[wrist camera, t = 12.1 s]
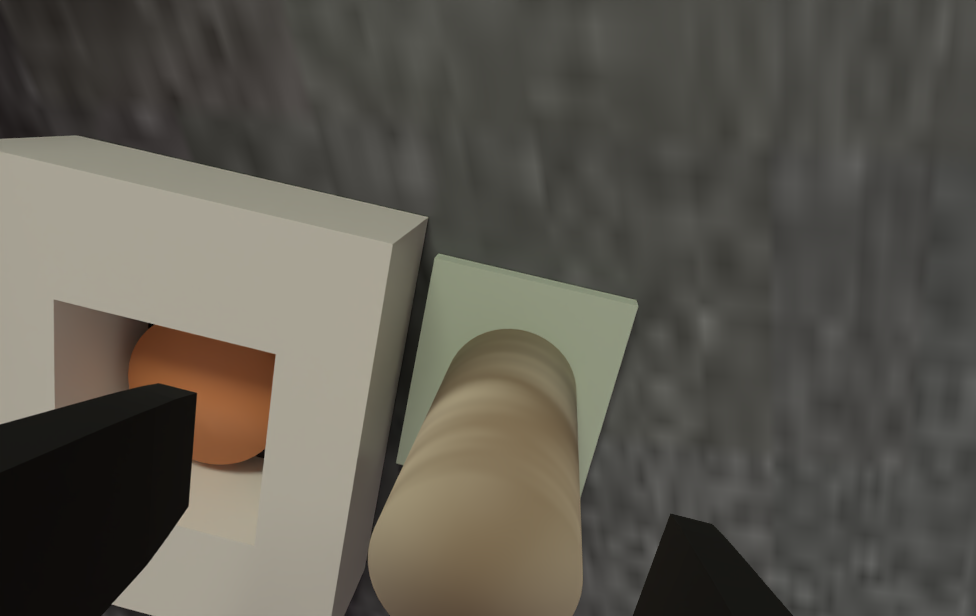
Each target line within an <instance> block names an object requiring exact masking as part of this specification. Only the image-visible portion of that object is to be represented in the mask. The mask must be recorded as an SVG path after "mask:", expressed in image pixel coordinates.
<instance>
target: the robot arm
mask: <svg viewBox="0 0 976 616" xmlns="http://www.w3.org/2000/svg"><path fill="white" fill-rule="evenodd" d="M196 402H197V393H196V392H192V391H188V390H184V389H180V388H176V387H172V386H168V385H164V384H160V383H157V384H151V385H145V386H141V387H136V388H132V389H128V390H124V391H120V392H116V393H112V394H108V395H104V396H101V397H97V398H93V399H90V400H86V401H83V402H79V403H75V404H72V405H68V406H65V407H61V408H57V409H54V410H50V411H47V412H43V413H39V414H36V415H32V416H29V417H25V418H21V419H18V420H14V421H11V422H7V423H3V424H0V616H101V615H102V614H103V613H104V612H105V611H106V610H107V609H108V608H109V607H110V606H111V604H112V603H113V602H114V601H115V600H116V599H117V598H118V597H119V596H120V595H121V593H122V592H123V591H124V590H125V589H126V588H127V587H128V586H129V585H130V584H131V582H132V581H133V580H134V579H135V578H136V577H137V576H138V575H139V574H140V572H141V571H142V570H143V569H144V568H145V567H146V566H147V564H148V563H149V562H150V560H151V559H152V558H153V556H154V555H155V554H156V552H157V551H158V550H159V548H160V547H161V545H162V544H163V543H164V541H165V540H166V539H167V537H168V536H169V534H170V533H171V531H172V530H173V529H174V527H175V526H176V524H177V523H178V521H179V520H180V518H181V517H182V515H183V514H184V513H185V511H186V510H187V508H188V507H189V495H190V482H191V469H192V456H193V442H194V429H195V416H196ZM633 616H793V615H792V614H791V613H790V612H789V611H788V609H787V608H786V607H785V606H784V605H783V604H782V602H781V601H780V600H779V599H778V598H777V597H776V596H775V594H774V593H773V592H772V591H771V590H770V589H769V587H768V586H767V585H766V584H765V583H764V582H763V580H762V579H761V578H760V577H759V576H758V575H757V573H756V572H755V571H754V570H753V569H752V568H751V566H750V565H749V564H748V563H747V562H746V561H745V559H744V558H743V557H742V556H741V555H740V554H739V553H738V551H737V550H736V549H735V548H734V547H733V546H732V545H731V543H730V542H729V541H728V540H727V539H726V538H725V537H724V536H723V535H722V534H721V533H720V532H719V531H718V530H717V528H716V527H715V526H714V525H712V524H709V523H705V522H702V521H698V520H694V519H690V518H686V517H682V516H678V515H674V514H670V516H669V519H668V522H667V525H666V527H665V530H664V533H663V535H662V538H661V541H660V544H659V546H658V549H657V552H656V554H655V557H654V560H653V563H652V565H651V568H650V571H649V573H648V576H647V579H646V582H645V584H644V587H643V590H642V592H641V595H640V598H639V601H638V603H637V606H636V609H635V611H634V614H633Z"/></svg>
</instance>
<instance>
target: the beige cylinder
mask: <svg viewBox="0 0 976 616" xmlns="http://www.w3.org/2000/svg"><path fill="white" fill-rule="evenodd" d="M368 567H369V575H370V578H371V582H372V585H373V588H374V590H375V592H376V595H377V597H378V599H379V600H380V602H381V604H382V605H383V607H384V608H385V610H386V611H387V612H388V613H389V615H390V616H572V615H573V613H574V611H575V609H576V608H577V606H578V602H579V599H580V596H581V592H582V585H583V566H582V538H581V509H580V480H579V452H578V423H577V394H576V382H575V377H574V374H573V371H572V369H571V367H570V364H569V363H568V361H567V359H566V358H565V356H564V355H563V354H562V353H561V352H560V351H559V349H557V348H556V347H555V346H554V345H553V344H552V343H550V342H549V341H547V340H546V339H544V338H542V337H540V336H539V335H536V334H534V333H531V332H528V331H524V330H518V329H498V330H493V331H489V332H485V333H483V334H481V335H478V336H476V337H475V338H473V339H471V340H470V341H469V342H467V343H466V344H465V345H464V346H463V347H462V348H461V349H460V350H459V351H458V352H457V354H456V355H455V356H454V358H453V360H452V362H451V364H450V366H449V368H448V370H447V372H446V374H445V377H444V379H443V381H442V383H441V385H440V387H439V389H438V392H437V394H436V396H435V398H434V400H433V402H432V405H431V407H430V409H429V411H428V413H427V415H426V418H425V420H424V422H423V424H422V426H421V428H420V431H419V433H418V435H417V437H416V439H415V441H414V443H413V446H412V448H411V450H410V452H409V454H408V456H407V459H406V461H405V463H404V465H403V467H402V469H401V472H400V474H399V476H398V478H397V480H396V482H395V485H394V487H393V489H392V491H391V493H390V495H389V497H388V500H387V502H386V504H385V506H384V508H383V510H382V513H381V515H380V517H379V519H378V521H377V523H376V526H375V528H374V530H373V533H372V536H371V539H370V543H369V549H368Z"/></svg>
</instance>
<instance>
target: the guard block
mask: <svg viewBox="0 0 976 616" xmlns="http://www.w3.org/2000/svg"><path fill="white" fill-rule="evenodd" d="M427 222H428V217H425V216H421V215H417V214H412V213H408V212H404V211H399V210H395V209H391V208H387V207H382V206H378V205H374V204H369V203H365V202H361V201H356V200H352V199H348V198H344V197H339V196H335V195H331V194H326V193H322V192H318V191H314V190H309V189H305V188H301V187H296V186H292V185H288V184H283V183H279V182H275V181H271V180H266V179H262V178H258V177H253V176H249V175H245V174H240V173H236V172H232V171H228V170H223V169H219V168H215V167H210V166H206V165H202V164H198V163H193V162H189V161H185V160H180V159H176V158H172V157H167V156H163V155H159V154H155V153H150V152H146V151H142V150H137V149H133V148H129V147H125V146H120V145H116V144H112V143H107V142H103V141H99V140H94V139H90V138H86V137H82V136H77V135H76V136H54V137H32V138H10V139H0V424H3V423H7V422H11V421H14V420H18V419H21V418H25V417H29V416H32V415H36V414H39V413H43V412H47V411H50V410H54V409H57V408H61V407H65V406H68V405H72V404H75V403H79V402H83V401H86V400H90V399H93V398H97V397H101V396H104V395H108V394H112V393H116V392H120V391H124V390H128V389H129V383H128V369H129V362H130V358H131V354H132V352H133V349H134V347H135V345H136V343H137V342H138V340H139V339H140V337H141V336H142V335H143V334H144V333H145V332H146V331H147V330H148V323H151V324H155V325H159V326H164V327H168V328H172V329H176V330H180V331H184V332H188V333H192V334H196V335H200V336H204V337H208V338H212V339H216V340H220V341H224V342H228V343H232V344H236V345H241V346H245V347H249V348H253V349H257V350H261V351H265V352H269V353H273V354H276V357H275V366H274V375H273V384H272V393H271V402H270V411H269V420H268V429H267V438H266V447H265V456H264V458H260V457H257V456H254V457H252V458H250V459H248V460H245V461H242V462H239V463H233V464H223V465H218V464H208V463H203V462H199V461H196V460H192V469H191V482H190V495H189V507H188V508H187V510H186V511H185V513H184V514H183V515H182V517H181V518H180V520H179V521H178V523H177V524H176V526H175V527H174V529H173V530H172V531H171V533H170V534H169V536H168V537H167V539H166V540H165V541H164V543H163V544H162V545H161V547H160V548H159V550H158V551H157V552H156V554H155V555H154V556H153V558H152V559H151V560H150V562H149V563H148V564H147V566H146V567H145V568H144V569H143V570H142V571H141V572H140V574H139V575H138V576H137V577H136V578H135V579H134V580H133V581H132V582H131V584H130V585H129V586H128V587H127V588H126V589H125V590H124V591H123V592H122V593H121V595H120V596H119V597H118V598H117V599H116V600H115V601H114V602H113V603H112V605H116V606H119V607H123V608H127V609H131V610H134V611H138V612H142V613H145V614H149V615H153V616H344V615H345V613H346V610H347V608H348V606H349V604H350V601H351V599H352V597H353V595H354V592H355V590H356V588H357V585H358V583H359V581H360V579H361V576H362V574H363V572H364V570H365V564H366V559H367V553H368V548H369V542H370V537H371V531H372V525H373V520H374V514H375V509H376V503H377V498H378V492H379V487H380V481H381V476H382V470H383V465H384V459H385V454H386V448H387V443H388V437H389V432H390V426H391V421H392V415H393V410H394V404H395V399H396V393H397V388H398V382H399V377H400V371H401V366H402V360H403V355H404V349H405V343H406V338H407V332H408V327H409V321H410V316H411V310H412V305H413V299H414V294H415V288H416V283H417V277H418V272H419V266H420V261H421V255H422V250H423V244H424V239H425V233H426V228H427Z"/></svg>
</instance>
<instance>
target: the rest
mask: <svg viewBox="0 0 976 616" xmlns="http://www.w3.org/2000/svg"><path fill="white" fill-rule="evenodd" d="M637 309H638V304H637V301H636V300H634V299H629V298H625V297H621V296H617V295H612V294H608V293H604V292H600V291H595V290H591V289H587V288H583V287H578V286H574V285H570V284H566V283H562V282H557V281H553V280H549V279H545V278H540V277H536V276H532V275H528V274H523V273H519V272H515V271H511V270H506V269H502V268H498V267H494V266H489V265H485V264H481V263H477V262H472V261H468V260H464V259H460V258H455V257H451V256H447V255H443V254H438V255H437V256H436V257H435V259H434V264H433V270H432V275H431V280H430V286H429V291H428V296H427V301H426V307H425V312H424V317H423V323H422V328H421V333H420V339H419V344H418V349H417V354H416V360H415V365H414V370H413V376H412V381H411V386H410V392H409V397H408V402H407V408H406V413H405V418H404V423H403V429H402V434H401V439H400V445H399V450H398V455H397V461H396V463H397V464H401V465H404V463H405V461H406V459H407V456H408V454H409V452H410V450H411V448H412V446H413V443H414V441H415V439H416V437H417V435H418V433H419V431H420V428H421V426H422V424H423V422H424V420H425V418H426V415H427V413H428V411H429V409H430V407H431V405H432V402H433V400H434V398H435V396H436V394H437V392H438V389H439V387H440V385H441V383H442V381H443V379H444V377H445V374H446V372H447V370H448V368H449V366H450V364H451V362H452V360H453V358H454V356H455V355H456V354H457V352H458V351H459V350H460V349H461V348H462V347H463V346H464V345H465V344H466V343H467V342H469V341H470V340H471V339H473V338H475V337H476V336H478V335H481V334H483V333H485V332H489V331H493V330H498V329H518V330H524V331H528V332H531V333H534V334H536V335H539V336H540V337H542V338H544V339H546V340H547V341H549V342H550V343H552V344H553V345H554V346H555V347H556V348H557V349H559V351H560V352H561V353H562V354H563V355H564V356H565V358H566V359H567V361H568V363H569V364H570V367H571V369H572V371H573V374H574V377H575V382H576V394H577V423H578V452H579V480H580V497H581V494H582V491H583V487H584V484H585V481H586V477H587V474H588V471H589V467H590V464H591V461H592V457H593V454H594V451H595V448H596V444H597V441H598V438H599V434H600V431H601V428H602V424H603V421H604V418H605V414H606V411H607V408H608V405H609V401H610V398H611V395H612V391H613V388H614V385H615V381H616V378H617V375H618V371H619V368H620V365H621V362H622V358H623V355H624V352H625V348H626V345H627V342H628V338H629V335H630V332H631V328H632V325H633V322H634V319H635V315H636V312H637Z"/></svg>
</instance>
